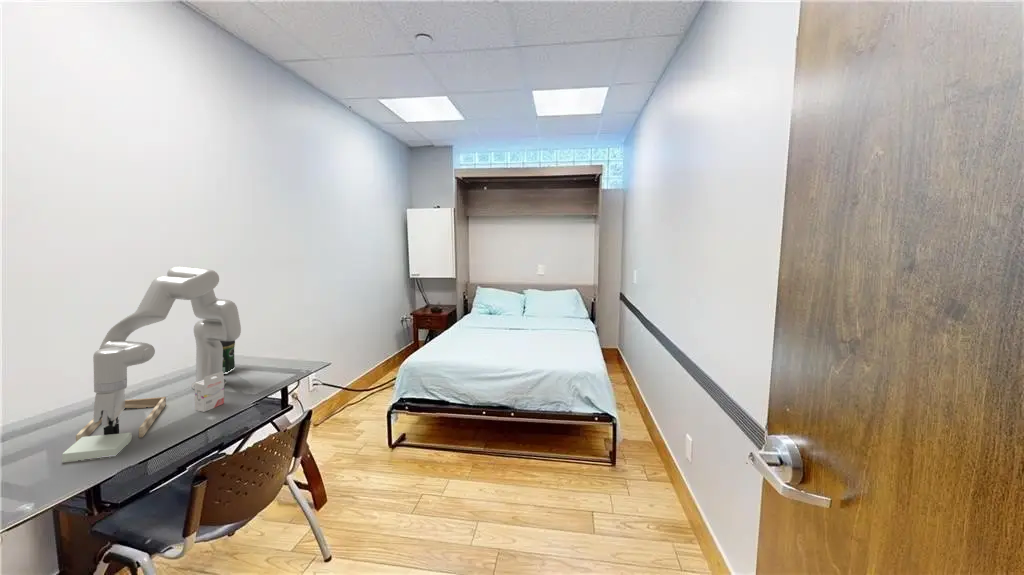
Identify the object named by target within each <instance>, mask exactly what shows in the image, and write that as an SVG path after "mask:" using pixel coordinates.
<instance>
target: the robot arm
mask: <svg viewBox="0 0 1024 575" xmlns="http://www.w3.org/2000/svg"><path fill="white" fill-rule="evenodd" d="M219 282H220V276H219V274H218V272H216V271H215V270H213V269H208V268H201V267H200V268H199V267H198V268H197V267H190V266H179V265H177V266H172V267H170V268H169V269H168V270H167V274H166V276H165V275H164V276H158V277H155V278H154V279H153V280H152V281H151V283H150V285H149V287H148V288H147V290H146V292H145V294H144V296H143V298H142V299H141V301H140V304H139V305H138V307H137V309H136V310H135V311H134V312H133V313H132V314H130V315H127V316H126V317H124V318H122V319H121V320H120V321H119V322H117V323H116V324H114V325H113V326H112V327H111V328H109V330H108V331H107V333H106V335H105V337H104V338H103V340H102V342H101V343H100V346H99V348H98V350H95V352H94V353H93V359H92V360H93V392H94V393H95V398H94V401H93V402H94V404H93V405H94V406H93V418H94V419H93V418H92V419H93V421H94V422H95V423H97V422H98V421H99V420H100V419H101V418H102V423H101V427H102V428H103V435H109V434H120V415H121V414H122V412H124V411H125V410H124V408H125V400H126V394H125V389H127V388H128V367H132V366H137V365H141V364H145V363H146V362H149V361H150V360H151V359H153V357H154V356H155V354H156V349H155V347H154V346H153V345H152V344H150V343H147V342H141V341H140V342H139V341H130V340H128V341H127V338H129V336H130V335H131V334H132V333H134V332H135V331H137V330H138V329H141V328H143V327H145V326H149V325H153V324H157V323H160V322H163V321H165V320H166V318H167V317H168V315H169V313H170V310H171V308H172V306H173V305H174V303H175V301H176V300H181V301H182V300H184V301H190V304H191V308H192V310H193V314H194V316H195V317H196V318H197V319H200V320H197V322H196V323H195V324H194V325H193V335H194V339H195V348H196V352H195V353H196V354H195V355H196V356H195V381H193V382H191V389H193V390H195V383H196V382H199V381H202V380H204V377H207V376H210V375H213V374H216V373H219V372H222V366H223V346H222V344H221V342H220V341H234V340H235V341H236V340H238V339H239V337H240V336H241V333H242V327H241V320H240V315H239V310H238V309H239V308H238V306H237V304H236V303H235V302H234V301H232V300H230V299H225V298H224V299H223V298H218V297H217V296H216V294H215V291H214V289H215V288H216V287H217V286H218V285H219ZM213 377H214V376H213ZM225 385H227V380H226V379H225V378H224V386H225Z"/></svg>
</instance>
